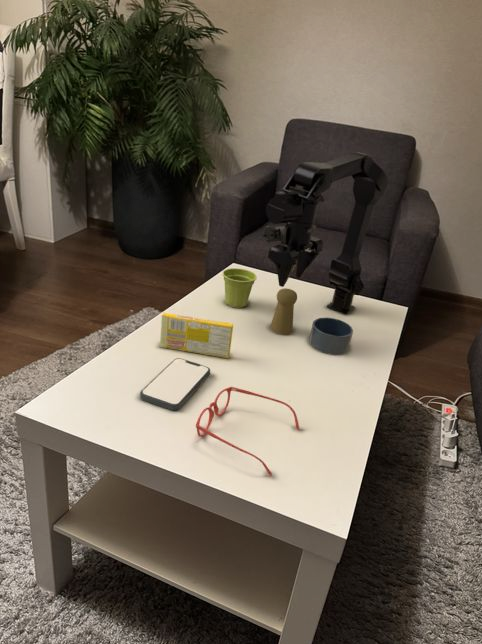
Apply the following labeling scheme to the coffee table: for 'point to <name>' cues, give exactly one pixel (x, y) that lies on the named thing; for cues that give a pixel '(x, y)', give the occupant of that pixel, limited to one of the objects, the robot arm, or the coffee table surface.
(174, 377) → the smartphone
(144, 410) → the coffee table surface
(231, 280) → the plant pot
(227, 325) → the candy box
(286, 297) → the brown cylinder with knob
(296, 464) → the coffee table surface
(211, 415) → the red eyeglasses
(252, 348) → the coffee table surface
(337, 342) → the blue-grey round bowl
